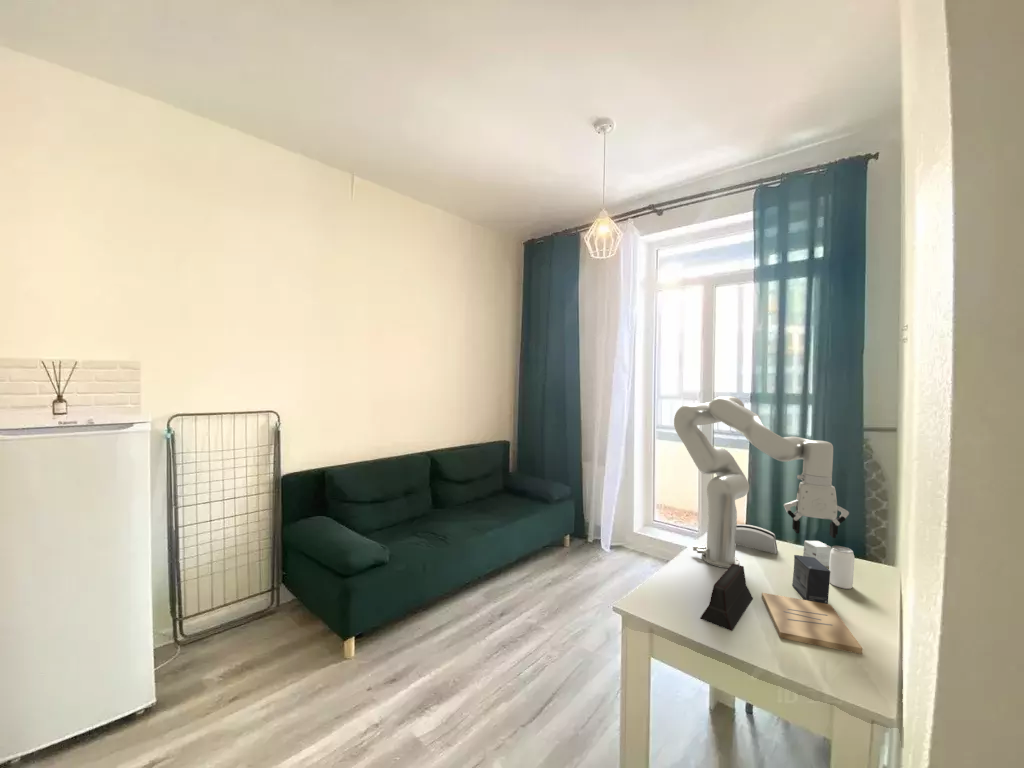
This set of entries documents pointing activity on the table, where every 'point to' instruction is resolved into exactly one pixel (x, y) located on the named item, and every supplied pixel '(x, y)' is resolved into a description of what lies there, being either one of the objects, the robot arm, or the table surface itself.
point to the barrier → (728, 599)
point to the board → (810, 623)
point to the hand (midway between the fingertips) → (814, 534)
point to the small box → (811, 579)
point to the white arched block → (756, 538)
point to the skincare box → (817, 551)
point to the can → (841, 567)
